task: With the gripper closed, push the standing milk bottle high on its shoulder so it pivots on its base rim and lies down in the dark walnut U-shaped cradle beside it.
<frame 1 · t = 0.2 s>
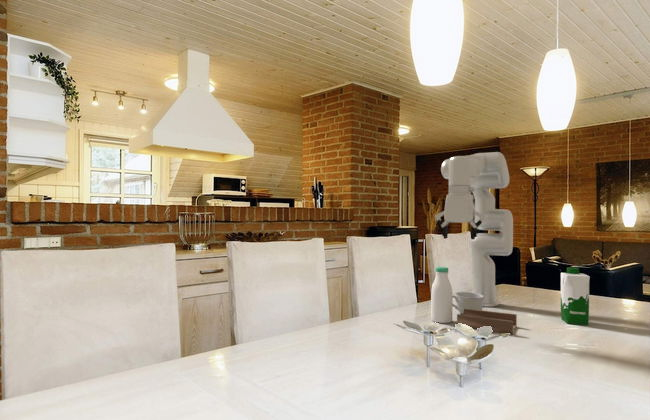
hand: (459, 238, 152), 31 cm above the table, fingers open, 9 cm apart
milk carton: (574, 322, 158), on the table
cradle: (486, 327, 150), on the table
milk bottle: (441, 321, 158), on the table
teacup: (465, 314, 170), on the table
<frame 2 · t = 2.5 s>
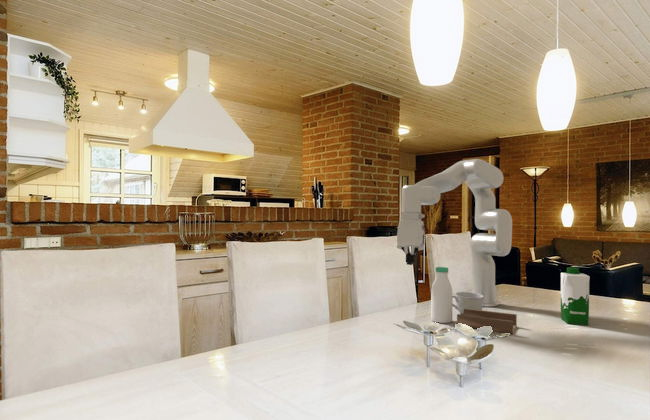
hand: (410, 264, 164), 20 cm above the table, fingers closed
nothing on the table moved.
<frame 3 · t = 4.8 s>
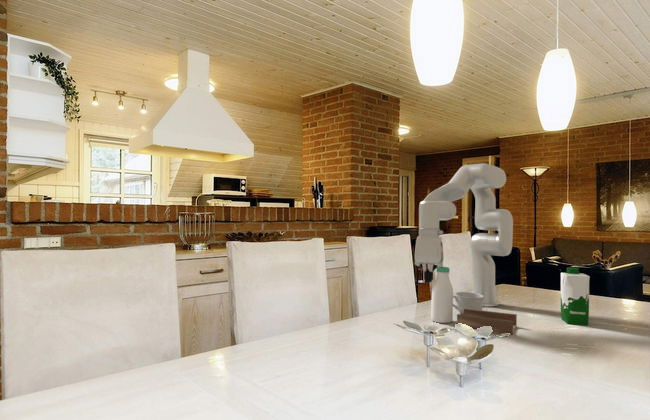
hand: (428, 281, 161), 14 cm above the table, fingers closed
milk bottle: (441, 321, 158), on the table, touching gripper
everything else where it was.
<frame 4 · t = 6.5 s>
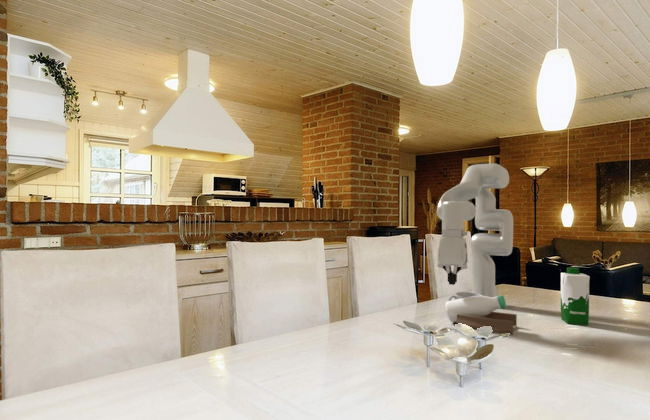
hand: (452, 284, 156), 14 cm above the table, fingers closed
milk bottle: (448, 312, 157), point 4 cm above the table
everything else where it was.
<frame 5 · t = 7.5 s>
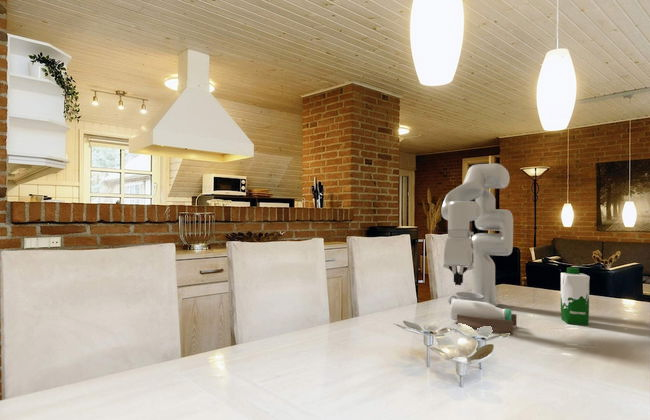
hand: (458, 284, 155), 14 cm above the table, fingers closed
milk bottle: (451, 309, 158), point 5 cm above the table, touching cradle
everything else where it was.
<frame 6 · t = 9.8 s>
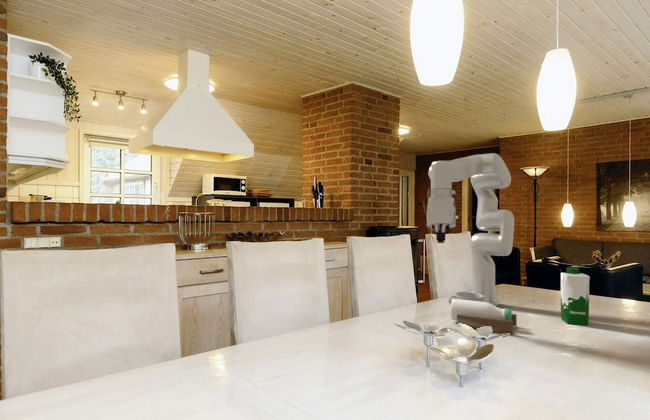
hand: (440, 242, 159), 29 cm above the table, fingers closed
nothing on the table moved.
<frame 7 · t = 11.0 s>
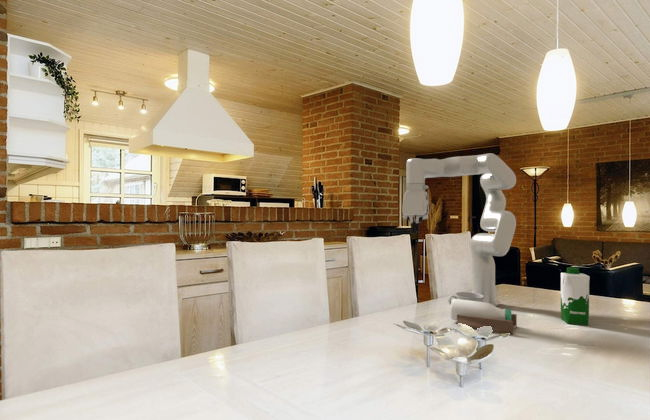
hand: (415, 232, 175), 32 cm above the table, fingers closed
nothing on the table moved.
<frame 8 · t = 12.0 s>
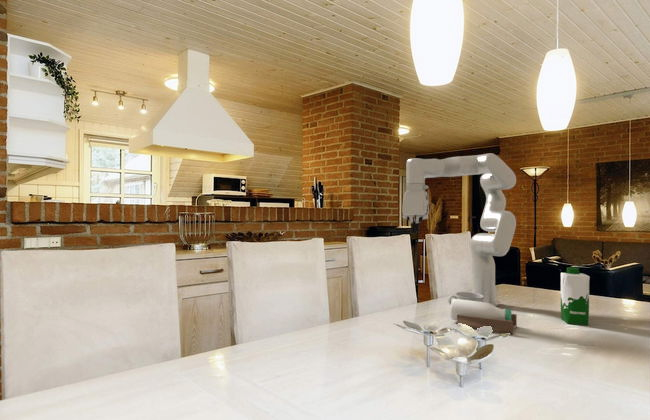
hand: (415, 232, 175), 32 cm above the table, fingers closed
nothing on the table moved.
at the end: milk bottle tilted 90°; milk bottle touching cradle; milk bottle inside the target area (7.6 cm from its centre), point 4.6 cm above the table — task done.
